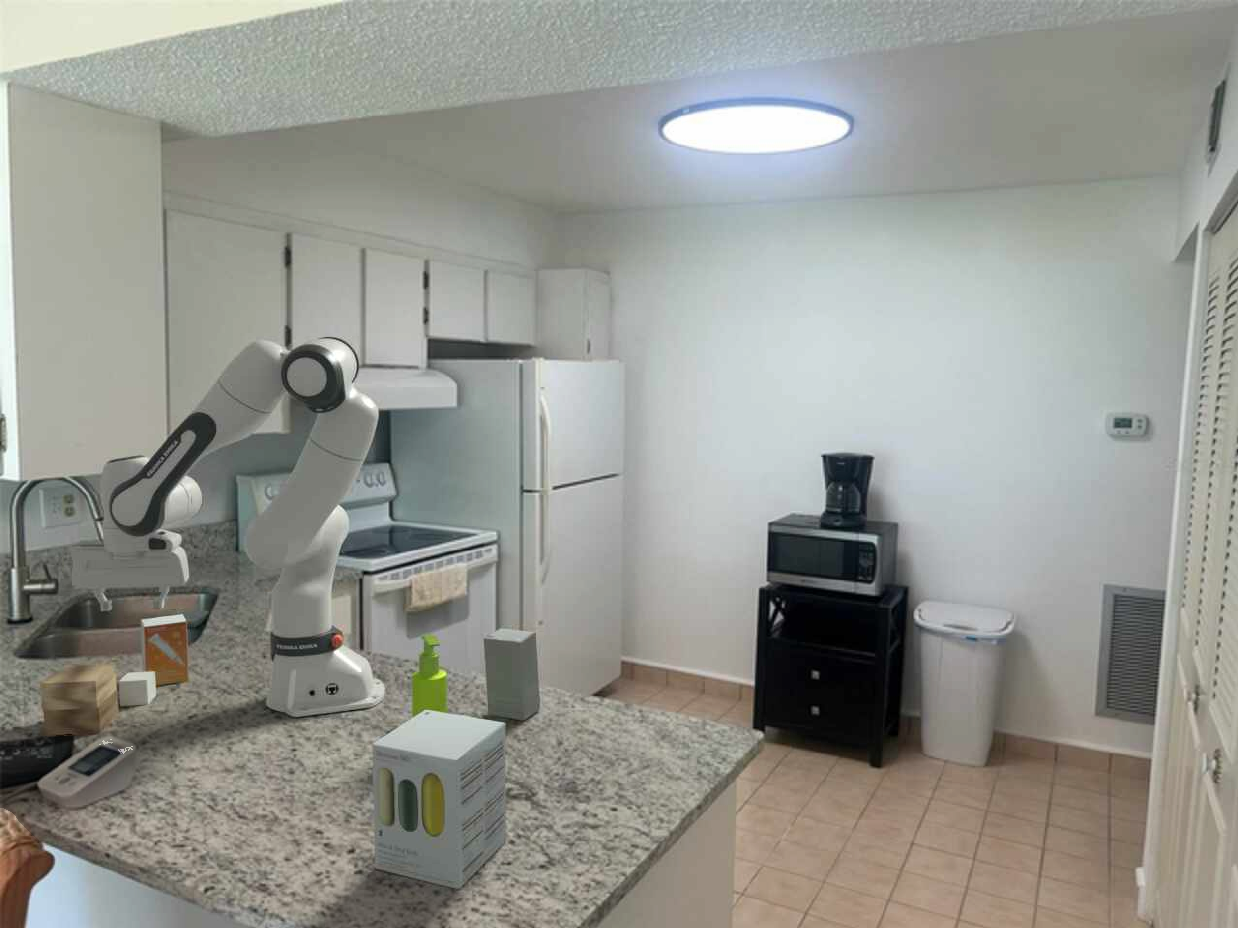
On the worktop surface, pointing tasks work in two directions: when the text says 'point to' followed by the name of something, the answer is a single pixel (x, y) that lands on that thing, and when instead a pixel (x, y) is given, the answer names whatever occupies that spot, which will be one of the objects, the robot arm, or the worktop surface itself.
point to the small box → (165, 648)
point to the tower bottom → (81, 719)
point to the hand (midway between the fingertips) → (132, 609)
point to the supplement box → (439, 797)
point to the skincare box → (512, 674)
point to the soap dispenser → (429, 680)
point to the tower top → (78, 687)
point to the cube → (137, 688)
